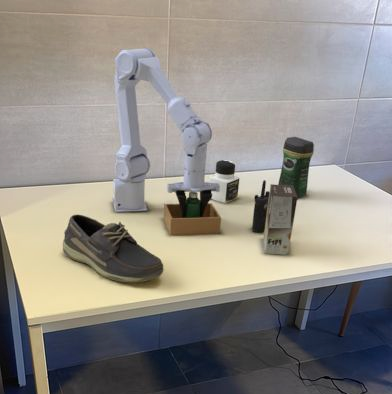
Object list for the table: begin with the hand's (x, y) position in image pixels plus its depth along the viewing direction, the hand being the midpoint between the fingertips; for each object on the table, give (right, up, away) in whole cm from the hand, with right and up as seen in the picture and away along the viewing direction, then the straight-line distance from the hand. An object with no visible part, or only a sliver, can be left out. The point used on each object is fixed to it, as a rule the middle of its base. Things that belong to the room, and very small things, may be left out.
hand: (191, 215), depth 153 cm
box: (0, -3, +2) cm, 3 cm away
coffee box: (+23, -10, -7) cm, 26 cm away
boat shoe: (-20, -16, -22) cm, 34 cm away
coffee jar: (+34, +12, +31) cm, 47 cm away
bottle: (0, -2, +1) cm, 3 cm away
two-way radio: (+19, -4, +3) cm, 20 cm away
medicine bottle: (+10, +9, +23) cm, 26 cm away
